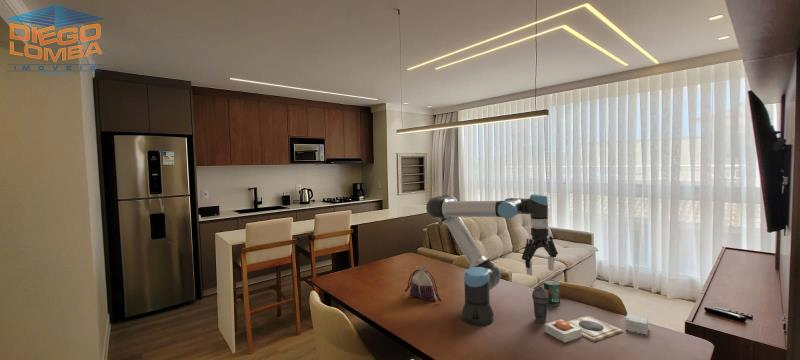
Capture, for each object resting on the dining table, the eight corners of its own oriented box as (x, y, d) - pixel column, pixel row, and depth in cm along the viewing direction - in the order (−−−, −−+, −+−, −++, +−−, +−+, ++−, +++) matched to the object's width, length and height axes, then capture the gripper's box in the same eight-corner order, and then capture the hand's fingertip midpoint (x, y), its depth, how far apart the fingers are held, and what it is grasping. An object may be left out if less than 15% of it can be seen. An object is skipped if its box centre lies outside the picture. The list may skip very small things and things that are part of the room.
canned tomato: (540, 301, 177) (540, 281, 177) (550, 298, 181) (550, 278, 180) (553, 307, 170) (553, 285, 170) (563, 303, 174) (563, 283, 173)
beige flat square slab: (594, 341, 136) (594, 338, 135) (561, 325, 150) (561, 322, 150) (622, 332, 143) (622, 328, 143) (588, 317, 157) (588, 314, 157)
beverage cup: (539, 324, 151) (538, 281, 151) (529, 318, 158) (528, 276, 158) (552, 322, 153) (552, 279, 153) (541, 315, 160) (541, 275, 160)
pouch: (399, 297, 189) (399, 264, 188) (407, 292, 196) (406, 260, 195) (439, 305, 176) (438, 270, 175) (446, 300, 183) (445, 266, 182)
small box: (648, 328, 145) (648, 317, 145) (647, 336, 139) (647, 324, 139) (627, 323, 150) (626, 312, 150) (625, 330, 144) (625, 319, 144)
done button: (563, 332, 138) (563, 327, 138) (552, 326, 144) (552, 322, 144) (573, 329, 141) (573, 324, 141) (561, 323, 146) (561, 319, 146)
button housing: (564, 342, 136) (564, 334, 136) (545, 331, 145) (544, 324, 145) (581, 337, 140) (581, 328, 140) (561, 326, 149) (561, 319, 149)
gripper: (525, 231, 146) (526, 279, 147) (565, 225, 156) (566, 270, 157) (512, 228, 153) (514, 274, 153) (552, 223, 163) (553, 266, 163)
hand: (540, 272), depth 155 cm, fingers open, 13 cm apart
